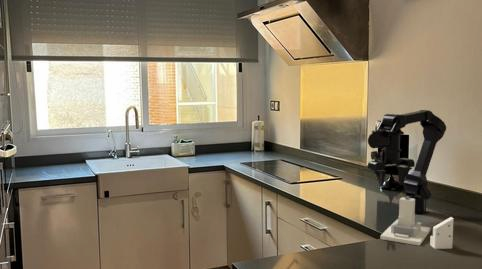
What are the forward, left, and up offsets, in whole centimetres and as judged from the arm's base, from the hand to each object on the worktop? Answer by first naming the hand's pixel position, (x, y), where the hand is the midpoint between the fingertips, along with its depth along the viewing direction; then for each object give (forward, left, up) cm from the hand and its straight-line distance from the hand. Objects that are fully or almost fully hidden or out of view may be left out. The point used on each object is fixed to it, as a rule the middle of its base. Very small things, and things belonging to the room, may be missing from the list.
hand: (390, 185), depth 190 cm
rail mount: (+9, +19, -13) cm, 25 cm away
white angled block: (+7, +33, -13) cm, 36 cm away
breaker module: (+9, +19, -11) cm, 23 cm away
